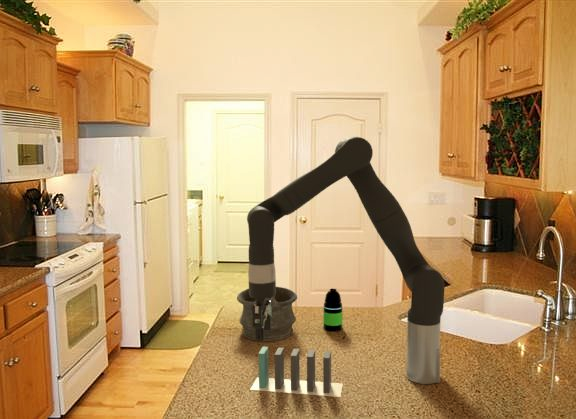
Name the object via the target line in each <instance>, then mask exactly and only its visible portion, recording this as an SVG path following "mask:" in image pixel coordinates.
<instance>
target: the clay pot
mask: <svg viewBox="0 0 576 419" xmlns="http://www.w3.org/2000/svg"><path fill="white" fill-rule="evenodd" d="M236 296H237V297H236V300H237V302H238V303H240V304H241V305H242V307H243V308H242V313H241V314H240V317H239V319H238V321H239V324H240V325H241V326H242V330H241V334H242V336H243V337H244V338H246V339H249V340H251V341H256V331H255V328H253V326H252V325H253V320H252V307H253V306H254V304H255V303H256V299H255V298H252V297H250V295H249V288H246V289H244V290H242V291H241V292H238V294H237V295H236ZM297 300H298V295H297V294H296V292H294V291H293V290H291V289H289V288H287V287H282V286H276V295H275V296H273V297H272V302H273V313H272V316H271V329H270V330H269V331H268V330H264V340H263V341H262V342H273V341H282V340H284V339H287V338H289V337H291V336H292V335H293V334H294V328H293V325H294V324H295V323H296V320H297V317H296V316H295V313H294V311H293V303H295V302H296V301H297ZM257 323H260V320H258V322H257ZM256 342H257V341H256Z"/></svg>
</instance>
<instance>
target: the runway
mask: <svg viewBox="0 0 576 419" xmlns="http://www.w3.org/2000/svg"><path fill="white" fill-rule="evenodd" d="M343 386H344V383H341V382H340V383H339V382H338V383H337V382H331V388H330V392H329V393H323V381H316V380H315V386H314V390H313V392H307V380H302V379H300V383H299V386H298V388H297V391H294V390H291V378H290V379H289V378H287V379H286V378H284V383H283V385H282V387H281V389H275V377H274V378H273V377H269V381H268V383H267V385H266V387H265V388H259V376H257V377H256V378H255V380H254V381H253V384H252V386H251V387H250V389H249V391H262V392H272V393H273V392H275V393H286V394H299V395H310V396H322V397H323V396H324V397H325V396H326V397H337V398H341V397H342V390H343Z"/></svg>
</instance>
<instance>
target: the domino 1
mask: <svg viewBox="0 0 576 419" xmlns="http://www.w3.org/2000/svg"><path fill="white" fill-rule="evenodd" d="M269 366H270V365H269V347H268V346H262V347H261V349H260V350H259V352H258V377H259V388H265V387H266V385H267V383H268V381H269V378H270V376H269V374H270V373H269V372H270V370H269Z"/></svg>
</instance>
